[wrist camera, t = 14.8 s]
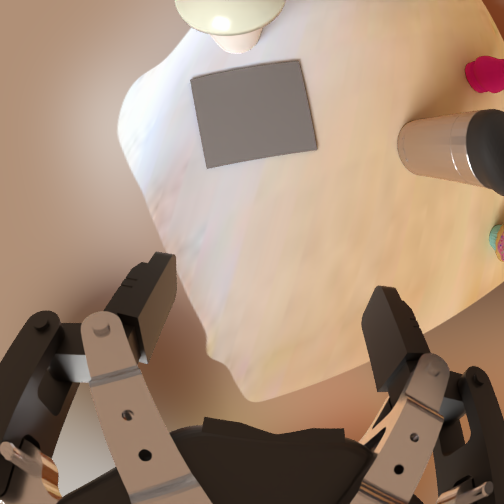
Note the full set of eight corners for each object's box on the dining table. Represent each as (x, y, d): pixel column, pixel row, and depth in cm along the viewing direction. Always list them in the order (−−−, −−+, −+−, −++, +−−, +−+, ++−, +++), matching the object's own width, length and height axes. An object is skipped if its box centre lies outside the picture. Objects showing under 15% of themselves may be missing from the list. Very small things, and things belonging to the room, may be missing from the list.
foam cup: (214, 10, 32) (201, -33, 20) (273, 18, 33) (279, -27, 20) (200, 59, 35) (179, 23, 23) (261, 67, 36) (263, 31, 23)
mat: (298, 62, 35) (298, 61, 35) (316, 150, 39) (317, 149, 39) (191, 80, 36) (190, 79, 36) (207, 168, 40) (206, 168, 40)
